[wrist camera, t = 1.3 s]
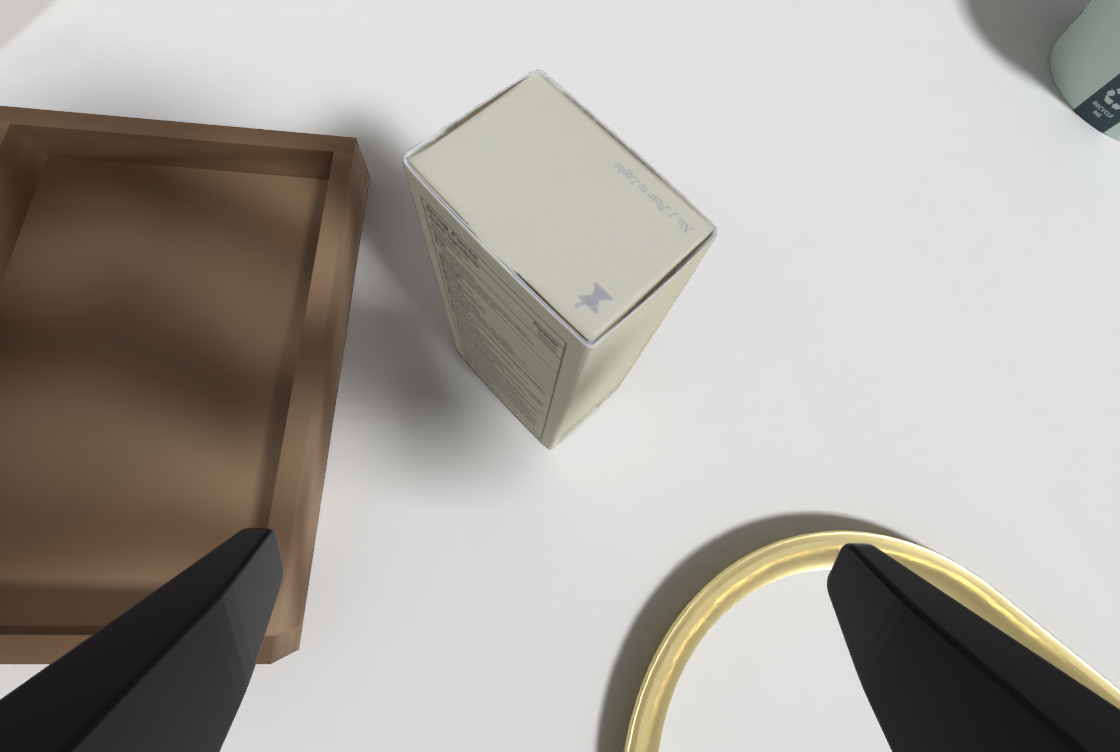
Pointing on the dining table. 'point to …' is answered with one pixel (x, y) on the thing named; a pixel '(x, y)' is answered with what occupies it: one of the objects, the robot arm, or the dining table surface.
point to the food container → (1091, 66)
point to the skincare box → (550, 249)
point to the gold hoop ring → (821, 555)
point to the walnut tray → (163, 358)
